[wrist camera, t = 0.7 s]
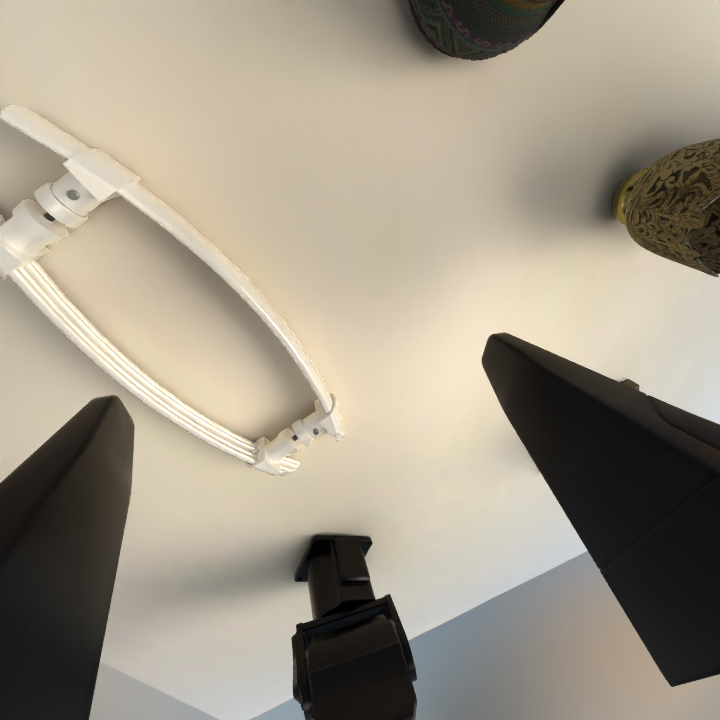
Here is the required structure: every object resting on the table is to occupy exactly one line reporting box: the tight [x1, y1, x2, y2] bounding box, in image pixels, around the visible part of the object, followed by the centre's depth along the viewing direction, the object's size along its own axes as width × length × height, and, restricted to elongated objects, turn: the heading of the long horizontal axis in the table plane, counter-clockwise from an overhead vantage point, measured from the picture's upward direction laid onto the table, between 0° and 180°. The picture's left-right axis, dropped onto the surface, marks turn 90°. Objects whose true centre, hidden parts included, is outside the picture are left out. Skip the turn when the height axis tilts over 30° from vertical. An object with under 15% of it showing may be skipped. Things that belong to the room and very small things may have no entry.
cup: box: [612, 139, 720, 277], centre depth 22 cm, size 8×7×8 cm
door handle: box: [0, 104, 346, 476], centre depth 21 cm, size 3×10×25 cm
